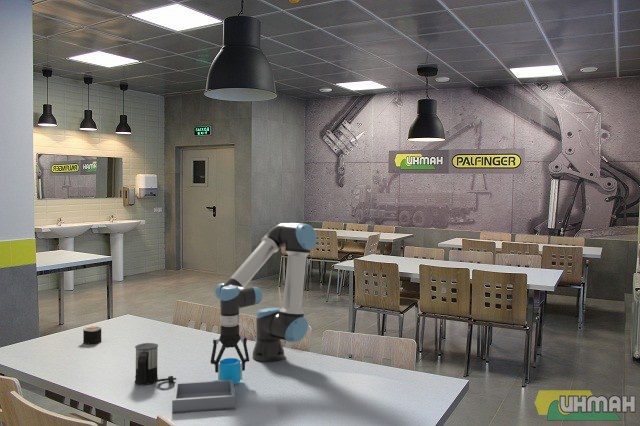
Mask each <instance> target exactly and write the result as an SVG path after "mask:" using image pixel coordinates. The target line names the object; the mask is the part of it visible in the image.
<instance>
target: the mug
mask: <svg viewBox="0 0 640 426" xmlns="http://www.w3.org/2000/svg"><path fill="white" fill-rule="evenodd" d="M240 362H242V361H241V359H240V358H236V357H227V358H223V359H222V358H221V359H220V361H219V363H220V380H232V379H233V384H234V385H237V384H238V383H240V381H241V380H240Z"/></svg>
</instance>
